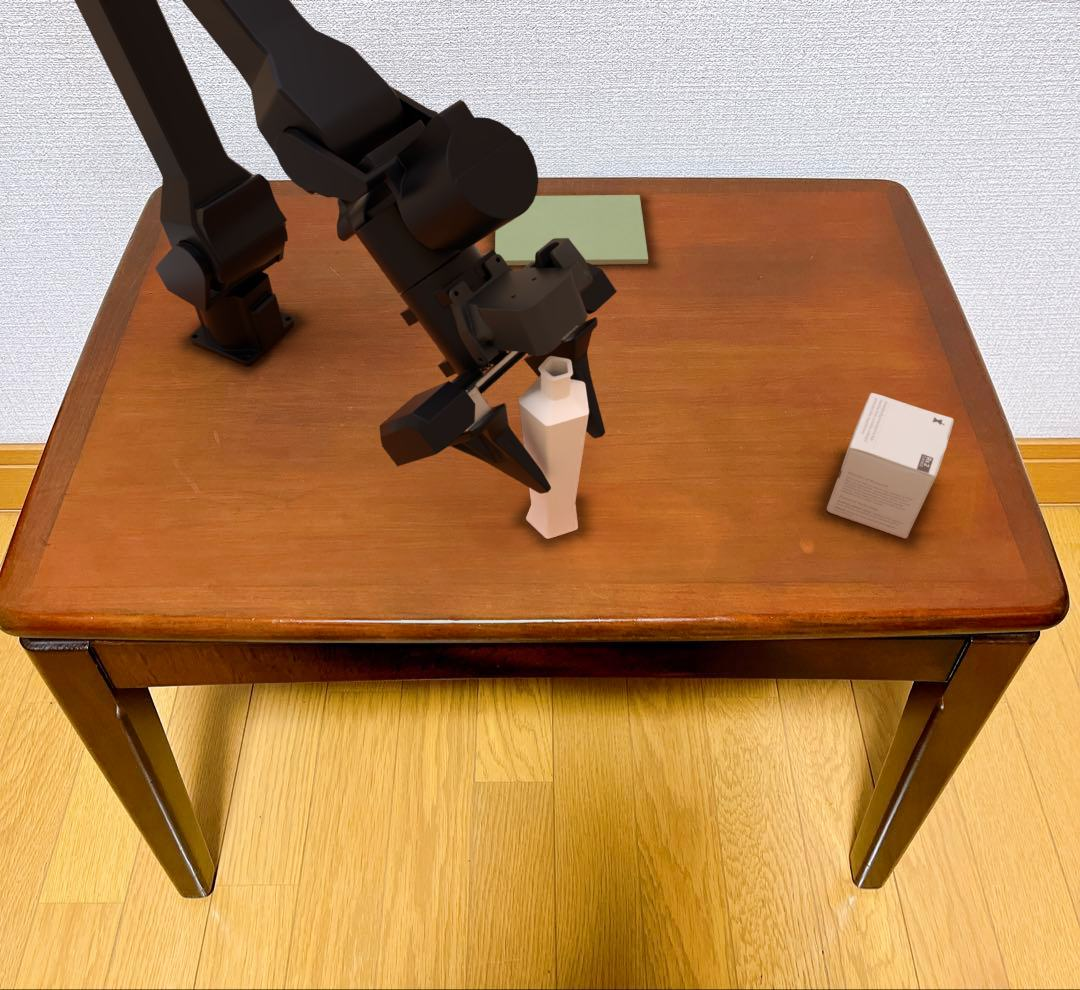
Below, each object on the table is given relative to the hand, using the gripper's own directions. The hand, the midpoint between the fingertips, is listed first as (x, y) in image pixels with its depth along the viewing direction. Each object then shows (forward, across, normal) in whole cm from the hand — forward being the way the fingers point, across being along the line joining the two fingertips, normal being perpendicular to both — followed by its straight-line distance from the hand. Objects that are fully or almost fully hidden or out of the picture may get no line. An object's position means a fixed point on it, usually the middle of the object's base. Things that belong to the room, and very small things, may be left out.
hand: (573, 463), depth 68 cm
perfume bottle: (+4, 0, +6) cm, 7 cm away
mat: (-10, +28, +20) cm, 36 cm away
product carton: (+17, +16, -6) cm, 24 cm away
